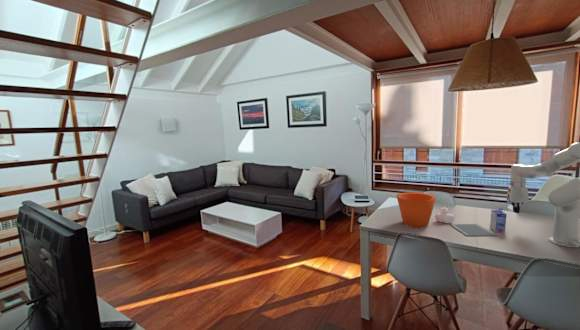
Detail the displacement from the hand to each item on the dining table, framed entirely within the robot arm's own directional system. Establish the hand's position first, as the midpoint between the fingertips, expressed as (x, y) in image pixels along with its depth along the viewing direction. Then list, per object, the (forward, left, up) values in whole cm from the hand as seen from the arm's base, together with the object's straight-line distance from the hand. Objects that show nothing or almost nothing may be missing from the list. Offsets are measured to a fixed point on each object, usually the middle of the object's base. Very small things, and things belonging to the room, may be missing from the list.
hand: (516, 212), depth 174 cm
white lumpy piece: (+17, +36, -12) cm, 41 cm away
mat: (0, +26, -11) cm, 28 cm away
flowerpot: (+14, +57, -12) cm, 59 cm away
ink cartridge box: (0, +11, -12) cm, 16 cm away
